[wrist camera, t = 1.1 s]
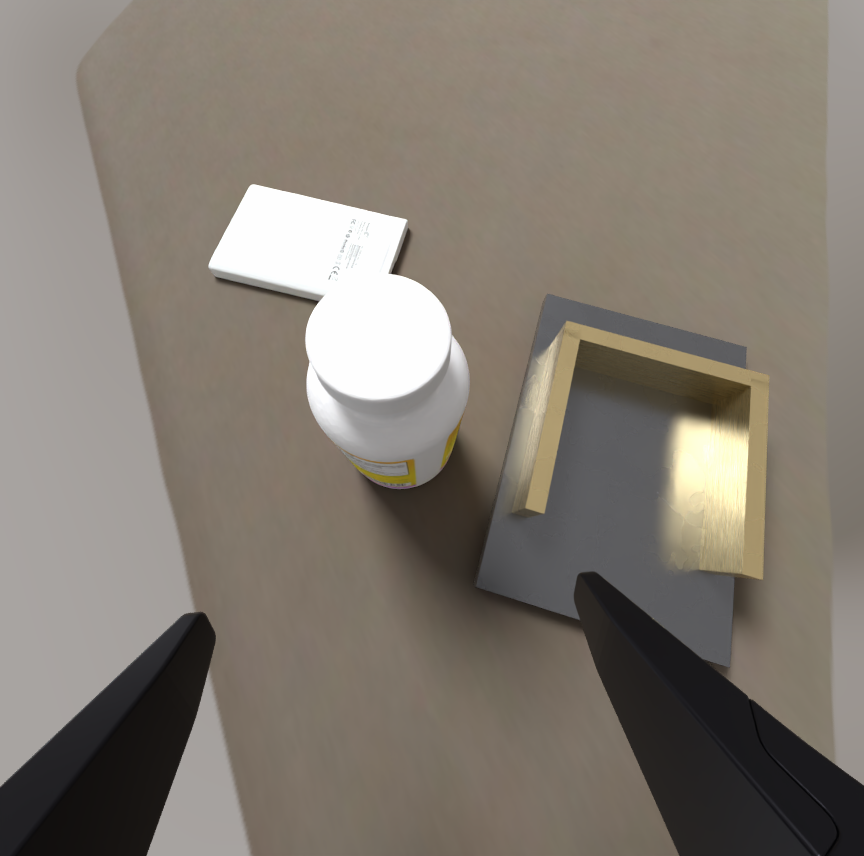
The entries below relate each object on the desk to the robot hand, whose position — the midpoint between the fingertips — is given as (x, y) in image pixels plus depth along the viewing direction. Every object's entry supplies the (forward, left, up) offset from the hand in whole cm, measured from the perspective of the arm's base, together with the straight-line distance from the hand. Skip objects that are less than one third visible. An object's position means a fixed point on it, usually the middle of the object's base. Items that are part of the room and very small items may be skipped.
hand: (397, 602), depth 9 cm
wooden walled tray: (+8, -13, -13) cm, 20 cm away
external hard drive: (+22, +9, -14) cm, 28 cm away
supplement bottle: (+8, +1, -14) cm, 16 cm away
